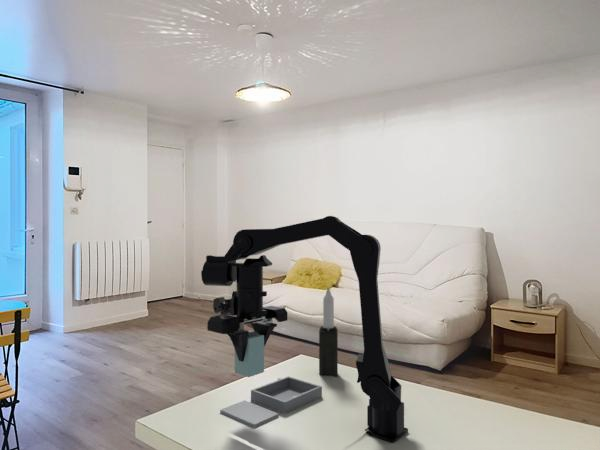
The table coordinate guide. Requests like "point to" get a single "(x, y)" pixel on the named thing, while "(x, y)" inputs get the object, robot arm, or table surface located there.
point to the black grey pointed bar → (328, 339)
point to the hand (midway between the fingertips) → (249, 358)
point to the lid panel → (249, 413)
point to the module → (251, 356)
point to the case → (286, 394)
